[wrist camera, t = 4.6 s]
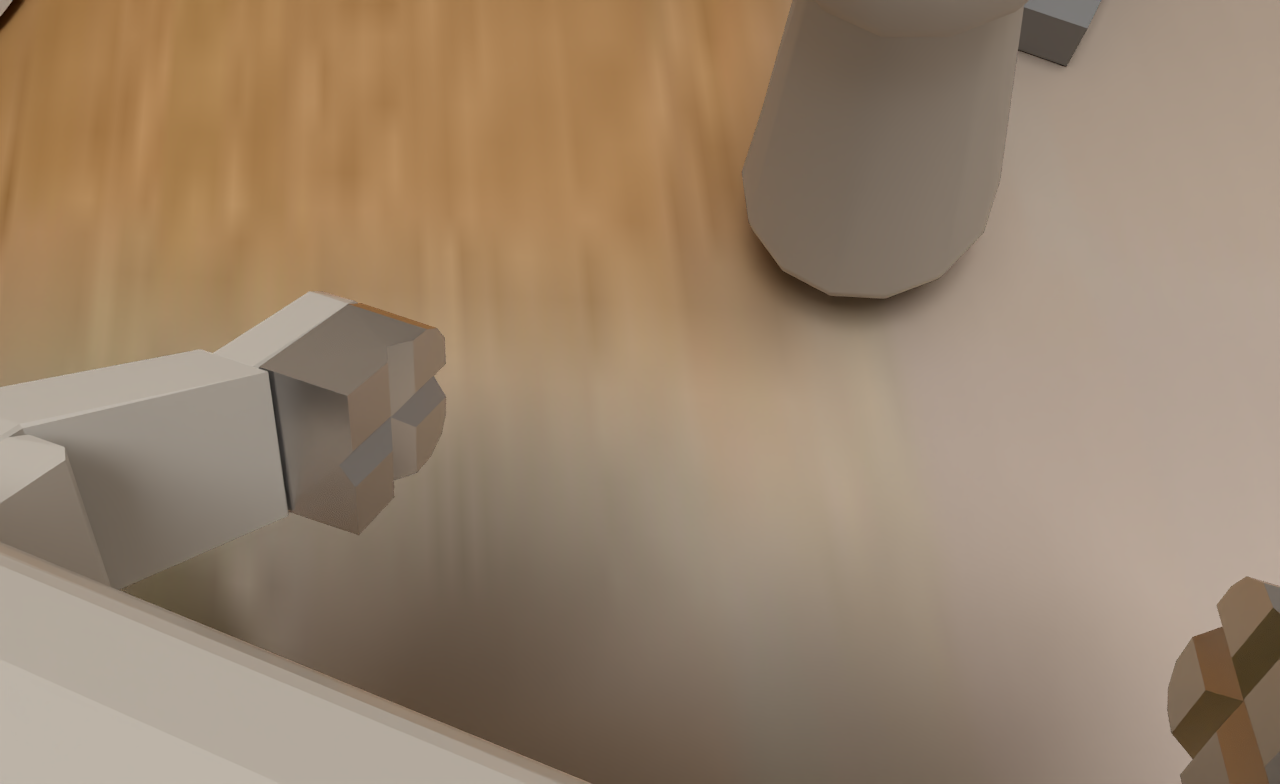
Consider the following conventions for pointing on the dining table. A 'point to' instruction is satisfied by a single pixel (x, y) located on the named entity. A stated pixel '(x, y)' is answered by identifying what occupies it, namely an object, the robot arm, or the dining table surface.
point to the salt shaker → (882, 139)
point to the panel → (1055, 27)
